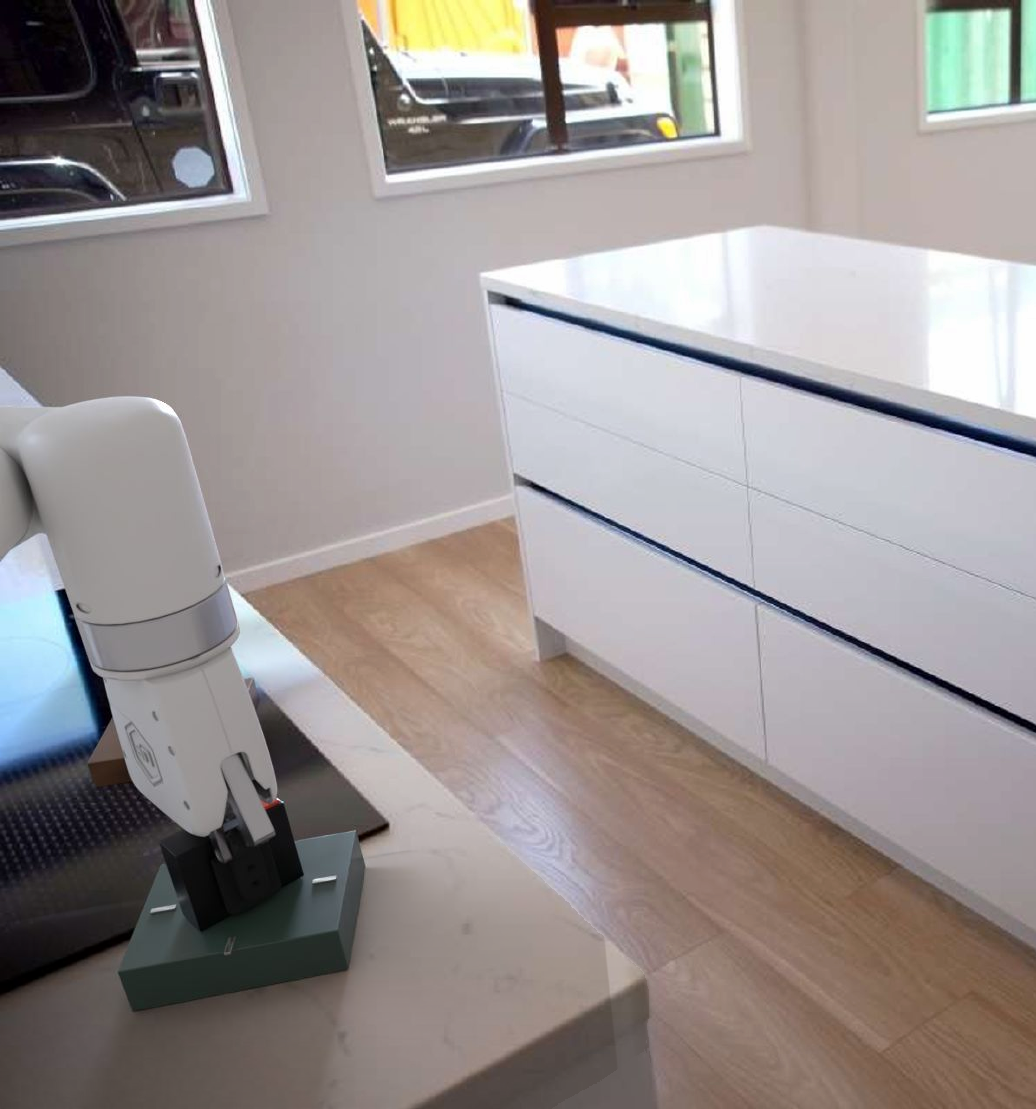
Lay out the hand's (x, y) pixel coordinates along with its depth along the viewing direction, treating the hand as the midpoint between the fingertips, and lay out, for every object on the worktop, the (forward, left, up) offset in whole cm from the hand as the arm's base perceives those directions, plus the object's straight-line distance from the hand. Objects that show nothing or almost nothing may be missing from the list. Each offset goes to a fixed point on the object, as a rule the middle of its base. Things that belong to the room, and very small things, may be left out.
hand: (242, 888), depth 77 cm
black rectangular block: (0, 0, -1) cm, 1 cm away
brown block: (-10, +26, -4) cm, 28 cm away
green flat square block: (0, 0, -4) cm, 4 cm away
